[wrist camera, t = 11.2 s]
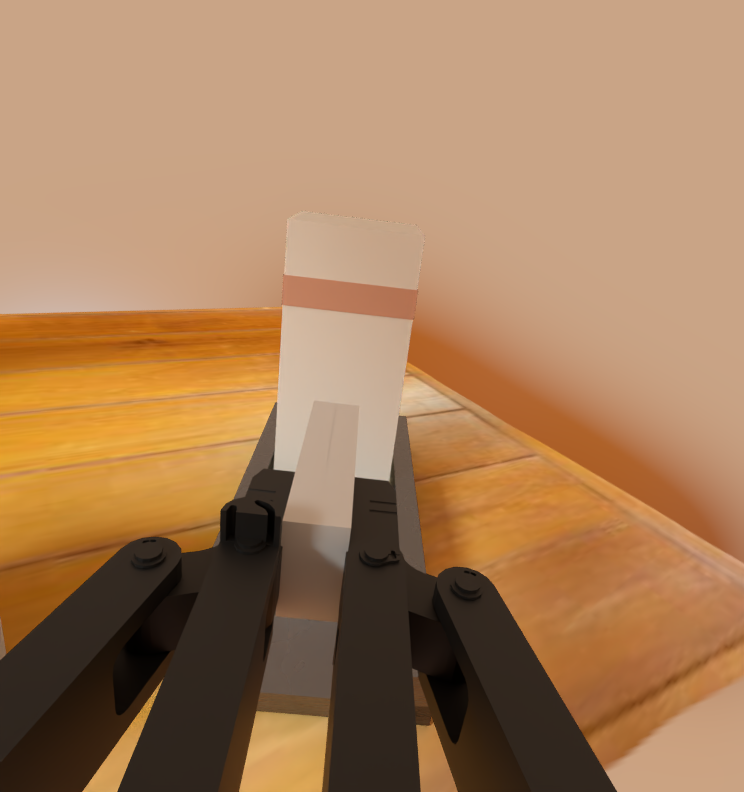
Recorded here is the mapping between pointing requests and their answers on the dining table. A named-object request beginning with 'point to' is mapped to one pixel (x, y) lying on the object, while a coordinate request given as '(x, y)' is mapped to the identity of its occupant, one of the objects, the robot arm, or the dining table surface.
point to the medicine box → (2, 643)
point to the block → (346, 330)
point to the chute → (315, 640)
